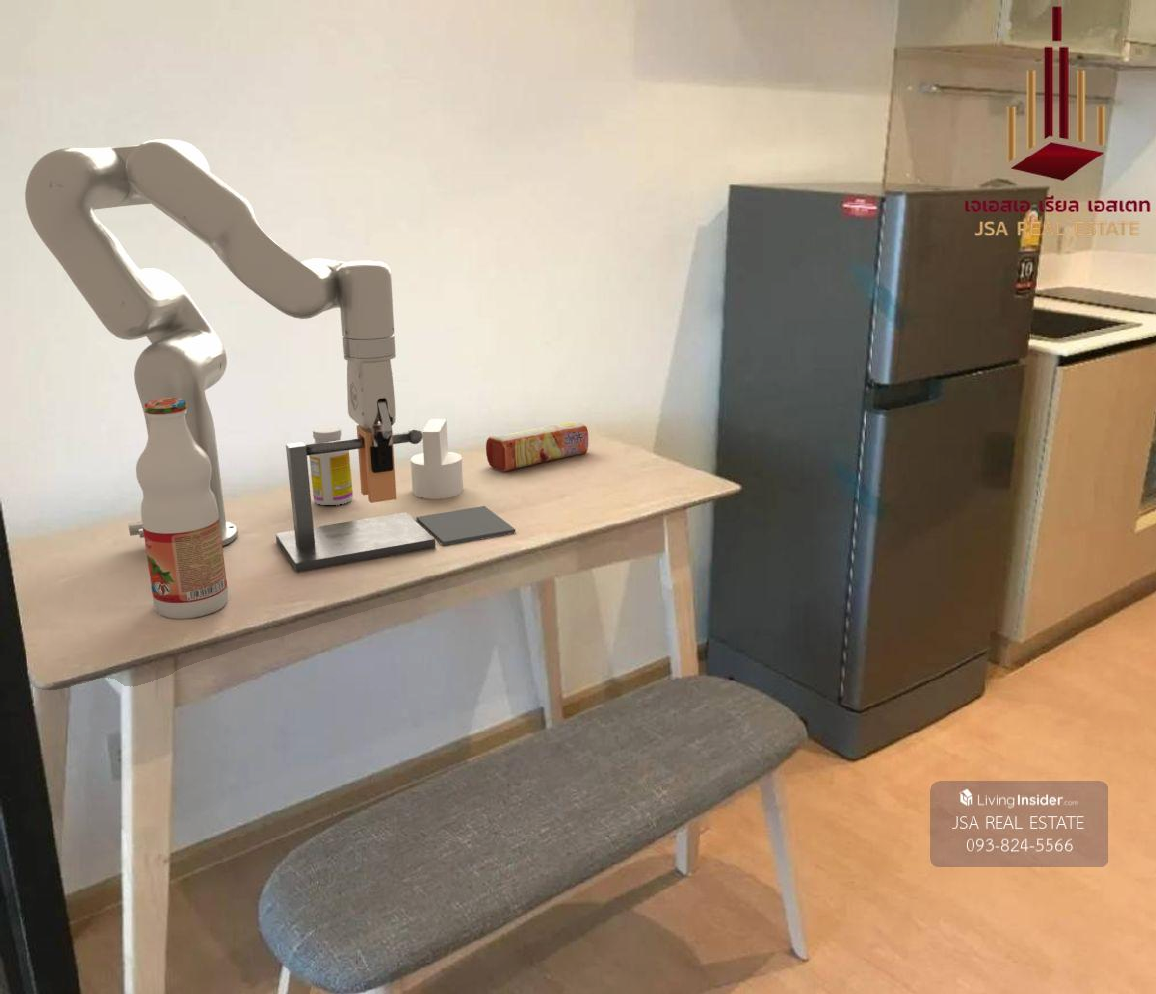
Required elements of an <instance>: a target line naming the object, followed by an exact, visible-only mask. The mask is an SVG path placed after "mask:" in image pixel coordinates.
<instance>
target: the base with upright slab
mask: <svg viewBox="0 0 1156 994" xmlns="http://www.w3.org/2000/svg"><path fill="white" fill-rule="evenodd" d="M447 424H448V423H447V419H445V418H431V419H428V421H427V423H426V424H425V426H424V428H423V430H422V431H421V432H422V436H423V437H422V450H423V451H422V452H421V453H418V454H415V455H413V456H412V457H411V458H410V470H411V471H410V472H411V489H412V491H411V492H412V494H413V495H414V496H416V497H417V498H418V497H419V498H421V497H423V498H422V499H431V500H434V499H448V498H451V497H455V496H457V495H460V494H462V493H463V492H464V480H463V479H464V478H463V458H462V455H461V454H460V453H456V452H452V451H449V444H448V443H449V442H448V425H447Z"/></svg>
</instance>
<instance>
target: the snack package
mask: <svg viewBox="0 0 1156 994" xmlns="http://www.w3.org/2000/svg"><path fill="white" fill-rule="evenodd" d="M588 431H589V430H588V427H587V426H586V425H585V424H583V423H582V422H577V421H571V420H569V421H566V422H561V423H557V424H550V425H545V426H539V427H534V428H530V429H524V430H520V431H515V432H510V433H502V434H497V435H496V434H495V435H491V436H489V437H488V438H487V440H486V443H485V453H486V459H487V462H488V465H489V466H490V467H491V468H492V469H494V470H496V471H500V472H503V473H504V472H505V473H506V472H510V471H512V470H515V469H519V468H524V467H529V466H533V465H536V464H541V463H547V462H549V461H554V460H558V459H564V458H567V457H573V456H577V455H584V454H586V453H587V452H588V450H589V432H588Z"/></svg>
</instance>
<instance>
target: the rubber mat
mask: <svg viewBox="0 0 1156 994" xmlns="http://www.w3.org/2000/svg"><path fill="white" fill-rule="evenodd" d="M415 519H416V520H415V521H416V522H417V523H418V524H419V525H420V526H421V527H422V528H424V529H425V530H426V531H427V532H428V533H429V534H430V535H431V536H432V537H433V538H434V539H435V540H437V542H439V543H440V544H441V545H442V546H443V547H444V546H449V545H454V544H460V543H466V542H471V541H477V540H481V539H482V538H483V539H487V538H488V537H489V538H494V537H499V535H500V536H504V534H506V535H509V533H511V534H515V533H516V528H515V527H513V526H512V525H510V523H508V522H507V521H505V520H504V519H503V518H501V517H500V516H498V515H497V514H496V513H495V512H493V511H492V510H491V509H490V508H488V507H486V506H485V505H481V506H475V507H469V508H464V509H456V510H451V511H445V512H438V513H433V514H427V515H420V516H416V518H415ZM514 532H515V533H514ZM493 536H494V537H493ZM483 539H482V540H483Z"/></svg>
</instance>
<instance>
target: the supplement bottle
mask: <svg viewBox="0 0 1156 994" xmlns="http://www.w3.org/2000/svg"><path fill="white" fill-rule="evenodd" d="M312 433H313V435H312V437H313V439H314V443H313V444H316V443H324V442H332V441H340V440H342V434H343V433H342V428H341V427H340V426H337V425H336V426H335V425H328V426H327V425H325V426H319V427H316V428H314V429H313V430H312ZM350 458H351V457H350V450H346V451H339V452H331V453H324V454H316V455H309V466H310V475H311V485H312V486H311V487H312V496H313V500H314V502H315V503H316V504H317V505H319V504H320V506H323V505H336V506H341V505H340V504H342V505H345V504H348V503H349V502H351V501H352V500H353V497H354V494H353V493H354V491H353V482H352V470H351V459H350ZM347 502H348V503H347ZM344 503H345V504H344Z"/></svg>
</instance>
